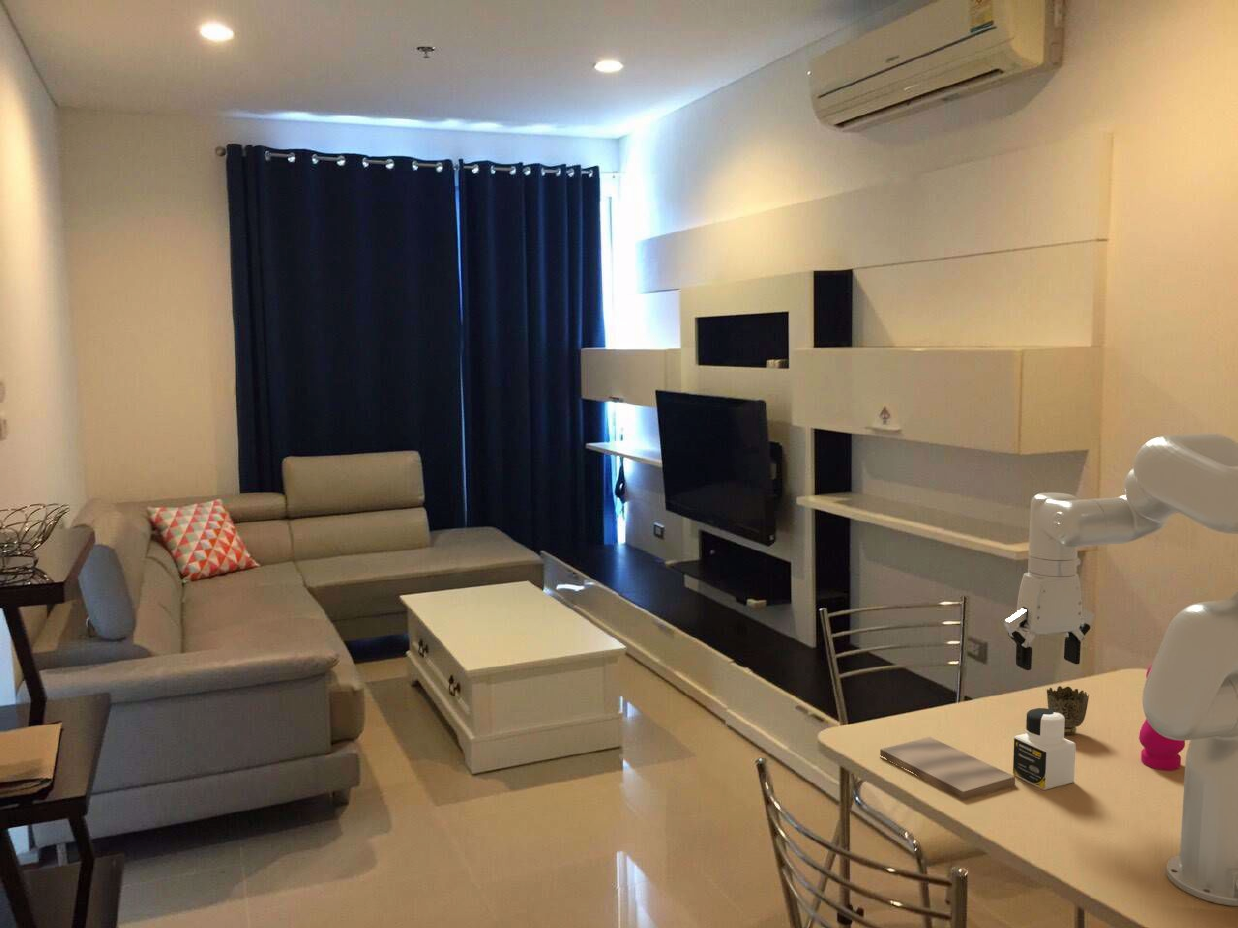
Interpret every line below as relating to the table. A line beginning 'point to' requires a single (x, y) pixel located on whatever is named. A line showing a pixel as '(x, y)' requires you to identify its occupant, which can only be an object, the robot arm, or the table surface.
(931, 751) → the walnut board
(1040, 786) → the medicine bottle
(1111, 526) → the robot arm
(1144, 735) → the pepper mill
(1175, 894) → the table surface
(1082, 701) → the cup
